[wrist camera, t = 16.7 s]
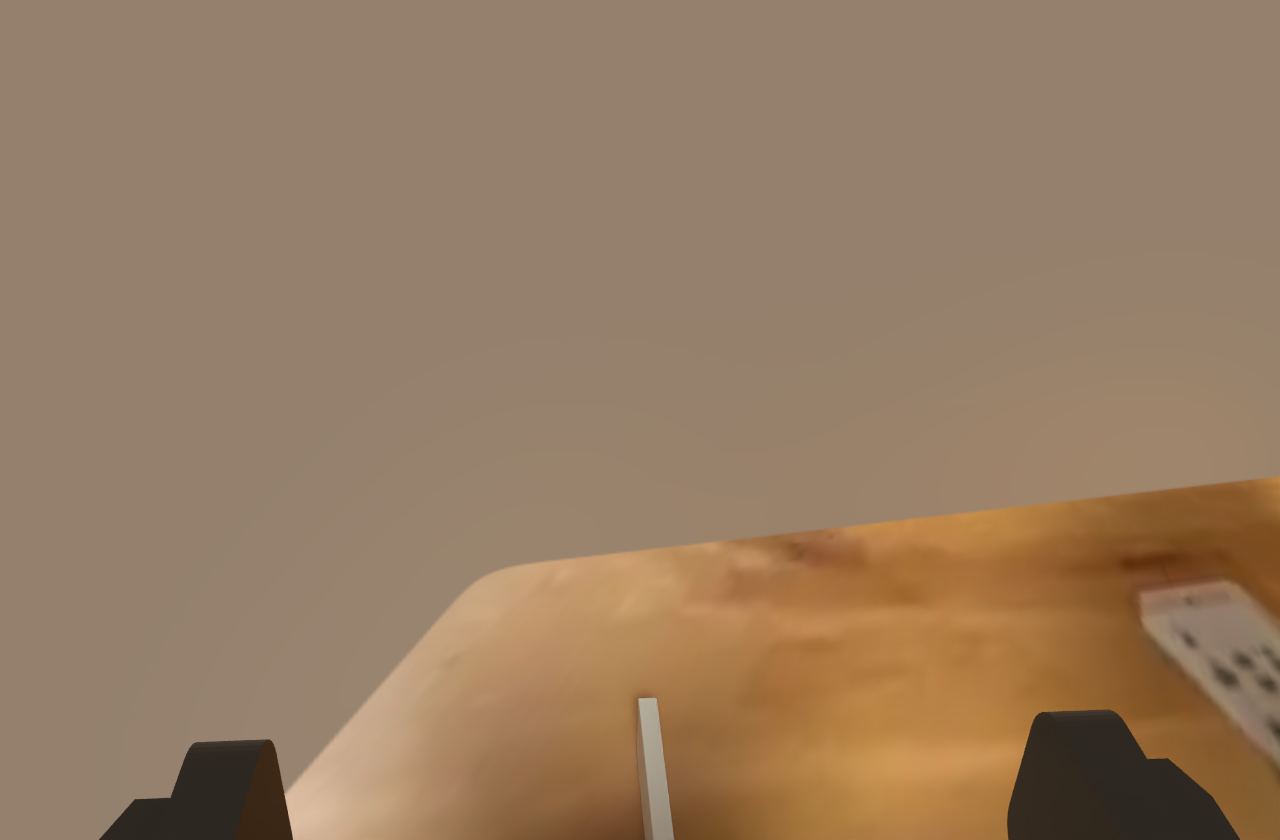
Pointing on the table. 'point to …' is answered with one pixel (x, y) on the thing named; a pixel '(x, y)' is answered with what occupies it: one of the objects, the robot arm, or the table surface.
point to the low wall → (652, 773)
